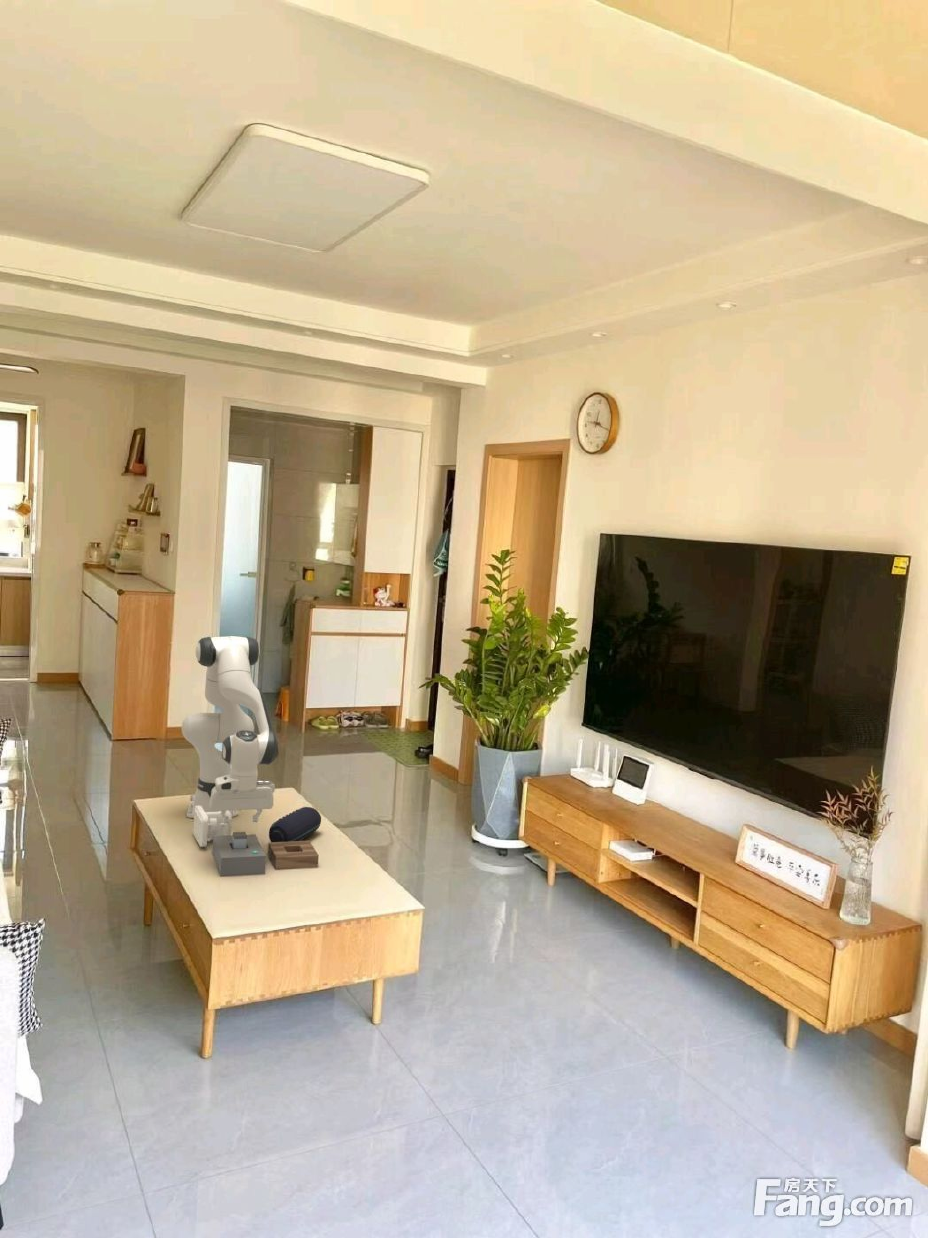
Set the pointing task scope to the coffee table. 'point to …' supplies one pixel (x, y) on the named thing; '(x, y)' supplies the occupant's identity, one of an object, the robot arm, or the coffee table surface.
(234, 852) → the port box
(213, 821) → the cable organizer
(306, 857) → the square wooden frame
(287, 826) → the portable speaker
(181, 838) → the coffee table surface
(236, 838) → the plug
